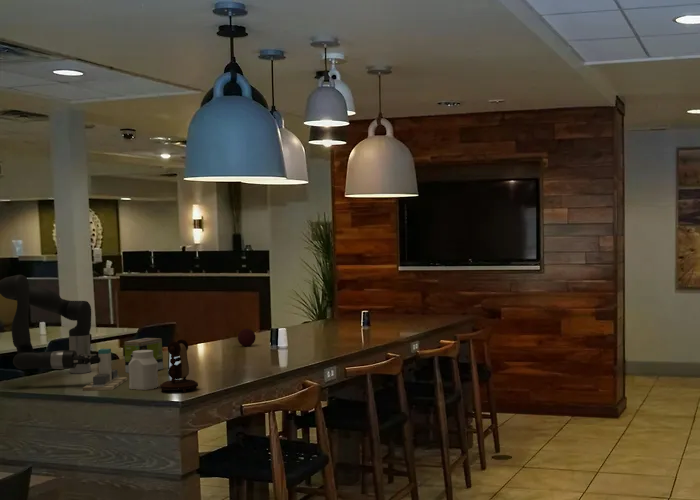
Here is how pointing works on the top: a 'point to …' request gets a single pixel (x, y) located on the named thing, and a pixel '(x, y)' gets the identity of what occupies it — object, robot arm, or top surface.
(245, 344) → the decorative ball
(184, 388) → the dark brown sculpture
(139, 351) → the jar
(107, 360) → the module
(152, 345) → the tea box
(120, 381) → the rail board
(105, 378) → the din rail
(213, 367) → the top surface
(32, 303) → the robot arm
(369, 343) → the top surface
